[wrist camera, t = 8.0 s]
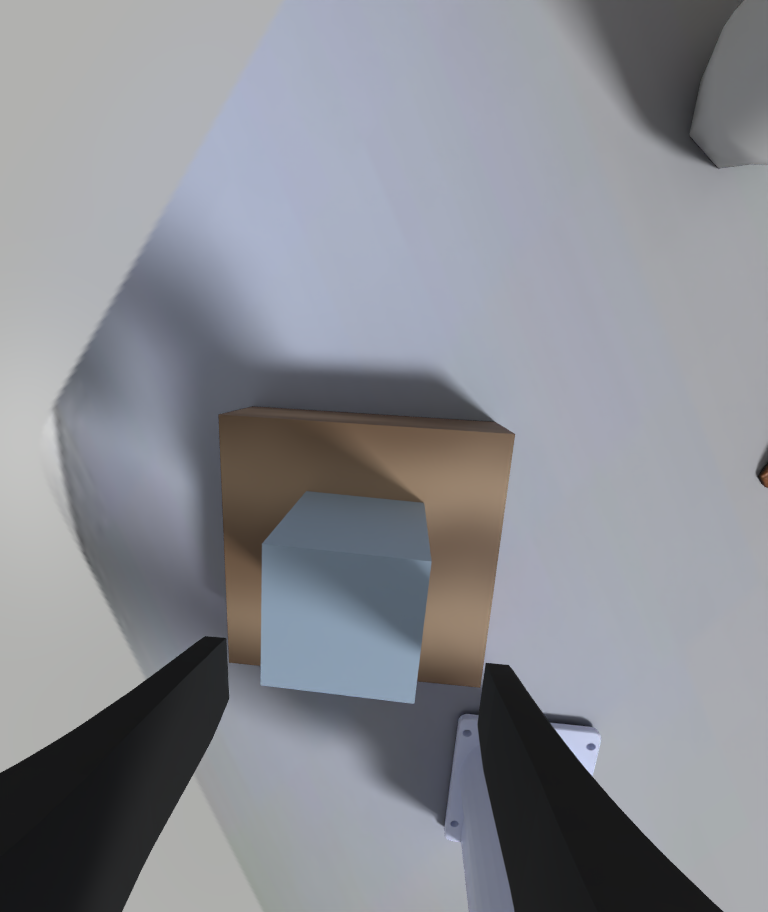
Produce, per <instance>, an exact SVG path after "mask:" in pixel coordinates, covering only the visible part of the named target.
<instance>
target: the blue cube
mask: <svg viewBox="0 0 768 912" xmlns="http://www.w3.org/2000/svg"><path fill="white" fill-rule="evenodd" d="M431 562H432V561H431V553H430V545H429V537H428V529H427V521H426V513H425V505H424V503H420V502H410V501H400V500H390V499H380V498H370V497H360V496H350V495H340V494H330V493H320V492H310V491H306V492H305V493H304V494H303V496H302V497H301V498H300V499H299V500H298V501H297V503H296V504H295V505H294V506H293V507H292V509H291V510H290V511H289V512H288V513H287V515H286V516H285V517H284V518H283V519H282V521H281V522H280V523H279V524H278V525H277V526H276V528H275V529H274V530H273V531H272V532H271V534H270V535H269V536H268V537H267V538H266V540H265V541H264V542H263V543H262V594H261V685H262V686H271V687H279V688H287V689H295V690H304V691H312V692H320V693H329V694H337V695H345V696H354V697H362V698H370V699H378V700H387V701H395V702H403V703H412V704H414V702H415V694H416V686H417V677H418V669H419V661H420V653H421V644H422V636H423V628H424V620H425V611H426V603H427V595H428V587H429V579H430V570H431Z"/></svg>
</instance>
